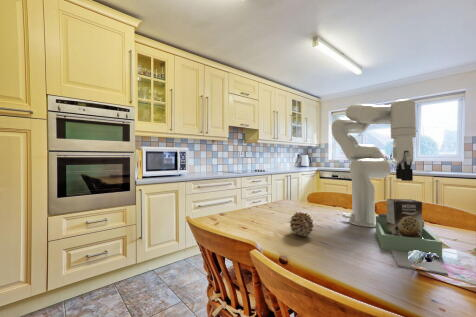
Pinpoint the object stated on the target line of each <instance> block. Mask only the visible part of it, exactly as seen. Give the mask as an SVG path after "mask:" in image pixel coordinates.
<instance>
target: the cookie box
mask: <svg viewBox="0 0 476 317" xmlns="http://www.w3.org/2000/svg"><path fill="white" fill-rule="evenodd" d="M386 214H387V235H395V236H403V237H411V238H420V239H422V220H423V201H419V200H415V199H407V198H405V199H404V198H403V199H402V198H386Z"/></svg>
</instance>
